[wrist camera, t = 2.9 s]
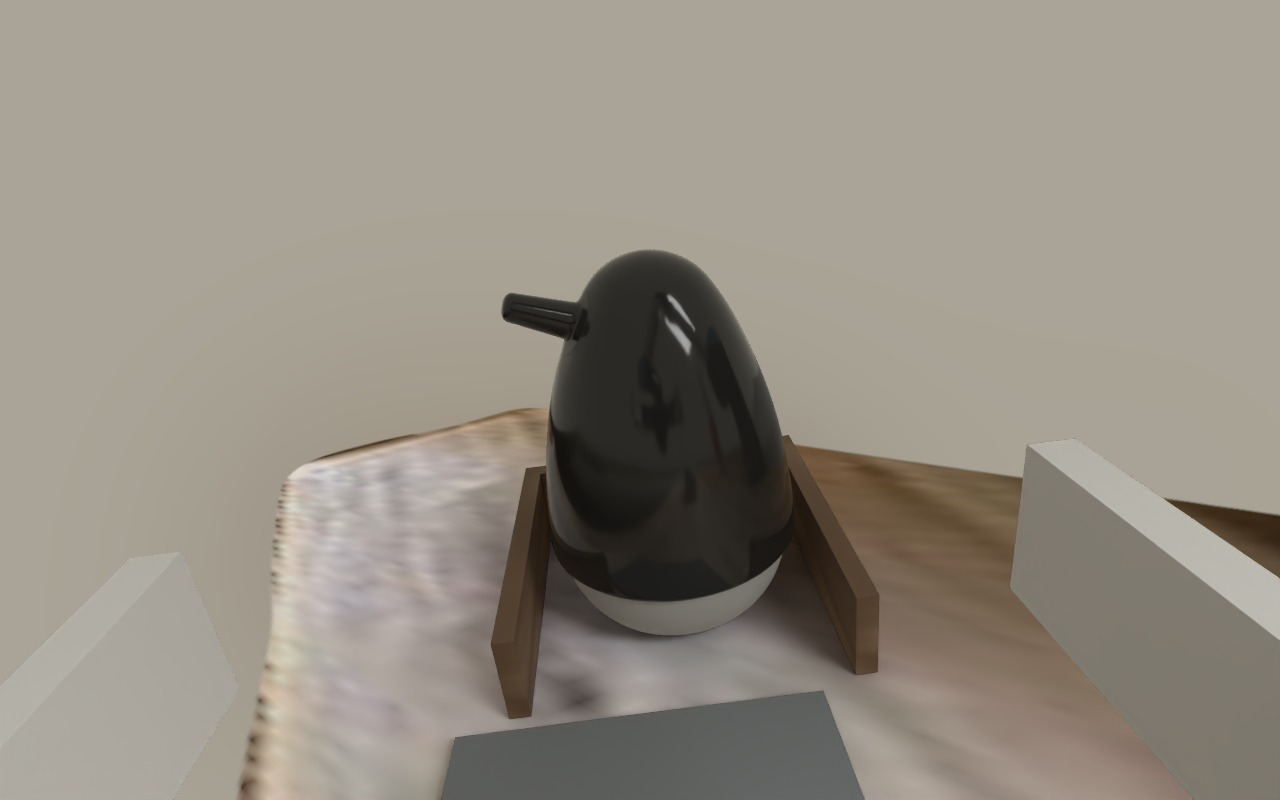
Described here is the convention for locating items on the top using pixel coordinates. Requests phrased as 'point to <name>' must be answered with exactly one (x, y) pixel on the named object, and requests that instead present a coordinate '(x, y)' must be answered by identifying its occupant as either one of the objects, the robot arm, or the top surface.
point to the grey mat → (665, 756)
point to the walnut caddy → (814, 533)
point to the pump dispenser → (660, 447)
